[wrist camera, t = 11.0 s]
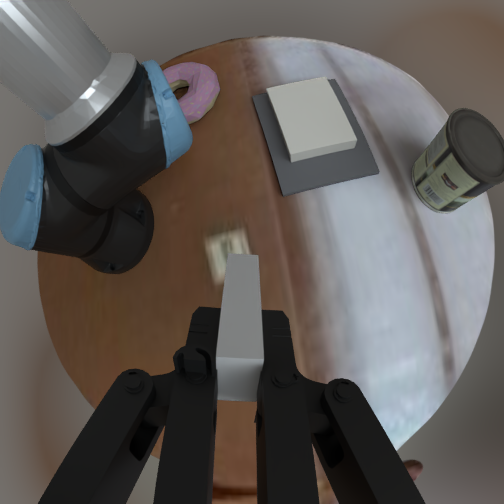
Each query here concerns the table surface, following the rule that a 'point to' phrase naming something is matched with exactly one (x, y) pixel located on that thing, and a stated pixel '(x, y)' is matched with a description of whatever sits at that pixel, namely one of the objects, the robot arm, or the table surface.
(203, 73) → the donut
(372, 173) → the mat
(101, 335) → the table surface
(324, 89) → the tile
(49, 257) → the table surface
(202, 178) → the table surface
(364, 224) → the table surface
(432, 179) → the coffee can
